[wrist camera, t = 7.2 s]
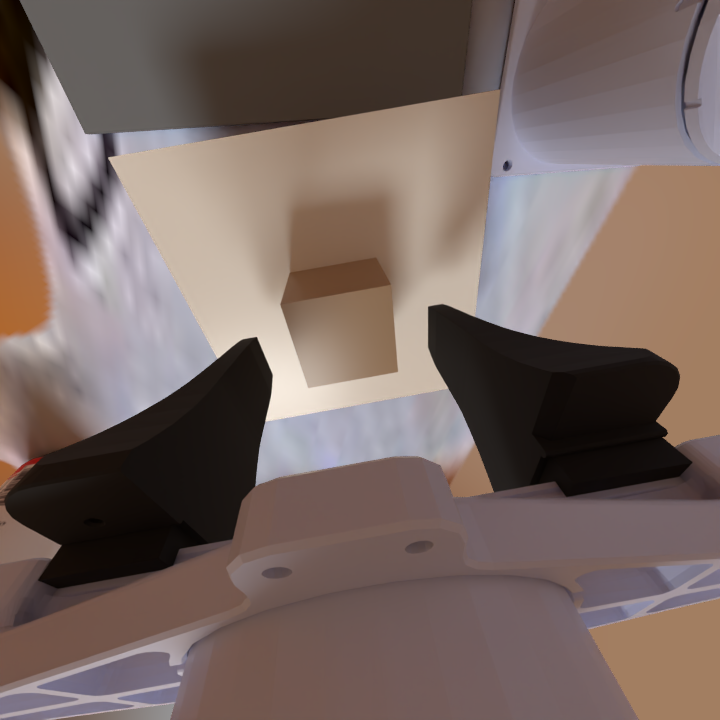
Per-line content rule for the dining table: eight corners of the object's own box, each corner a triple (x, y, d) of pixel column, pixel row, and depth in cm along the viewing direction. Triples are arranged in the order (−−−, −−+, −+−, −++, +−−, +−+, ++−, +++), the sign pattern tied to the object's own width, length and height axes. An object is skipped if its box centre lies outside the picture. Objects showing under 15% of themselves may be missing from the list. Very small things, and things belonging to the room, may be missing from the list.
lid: (486, 94, 11) (571, 59, 7) (461, 375, 19) (494, 426, 15) (124, 157, 11) (20, 155, 7) (255, 412, 19) (240, 472, 15)
